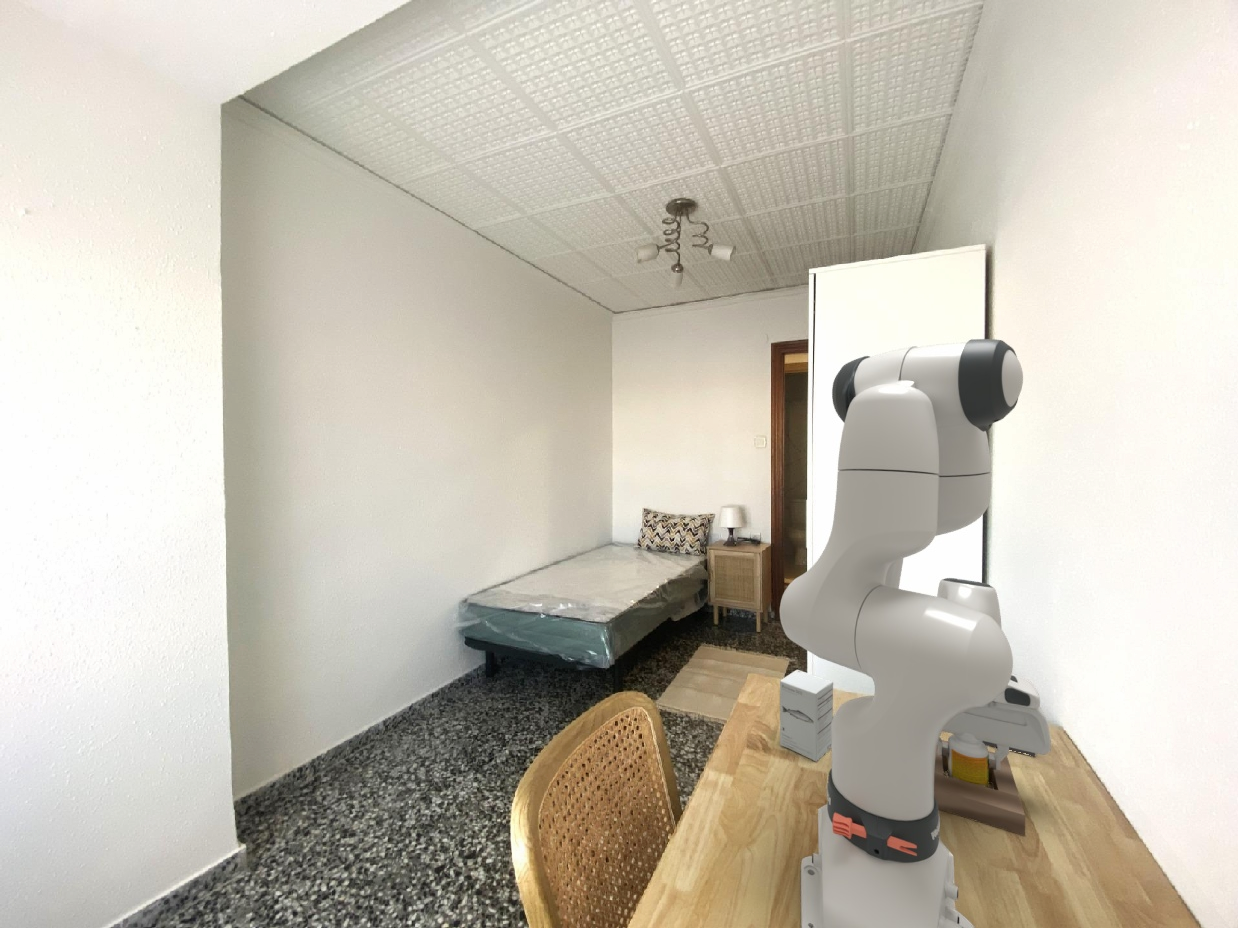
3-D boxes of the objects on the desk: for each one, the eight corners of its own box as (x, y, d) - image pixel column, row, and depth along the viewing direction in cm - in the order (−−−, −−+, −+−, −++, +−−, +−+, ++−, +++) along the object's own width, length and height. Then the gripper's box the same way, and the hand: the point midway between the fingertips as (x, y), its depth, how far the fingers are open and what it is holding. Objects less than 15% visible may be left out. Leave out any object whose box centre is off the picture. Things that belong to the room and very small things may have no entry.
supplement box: (778, 745, 92) (778, 679, 91) (797, 730, 96) (797, 667, 96) (816, 763, 86) (815, 693, 86) (834, 746, 91) (834, 680, 91)
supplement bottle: (996, 800, 76) (995, 738, 76) (957, 795, 77) (957, 735, 77) (977, 778, 81) (977, 720, 81) (942, 774, 82) (941, 717, 82)
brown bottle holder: (1025, 835, 69) (1025, 815, 69) (926, 805, 75) (926, 786, 75) (1007, 772, 83) (1006, 755, 83) (924, 751, 89) (924, 735, 89)
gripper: (893, 670, 82) (894, 751, 82) (1053, 701, 71) (1054, 794, 71) (895, 657, 87) (895, 733, 87) (1044, 683, 76) (1044, 770, 76)
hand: (968, 761), depth 79 cm, fingers closed on supplement bottle, 5 cm apart
